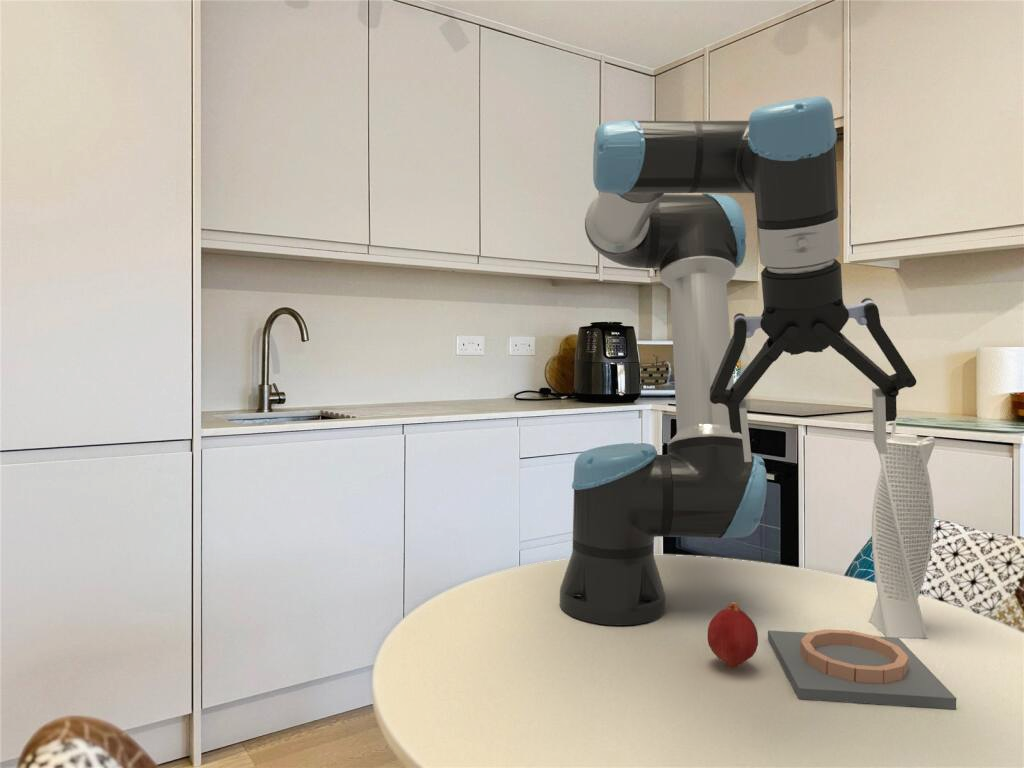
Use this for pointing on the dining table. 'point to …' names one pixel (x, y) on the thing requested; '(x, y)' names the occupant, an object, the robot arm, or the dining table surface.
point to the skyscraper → (902, 534)
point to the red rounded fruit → (732, 636)
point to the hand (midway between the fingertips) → (812, 452)
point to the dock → (857, 669)
